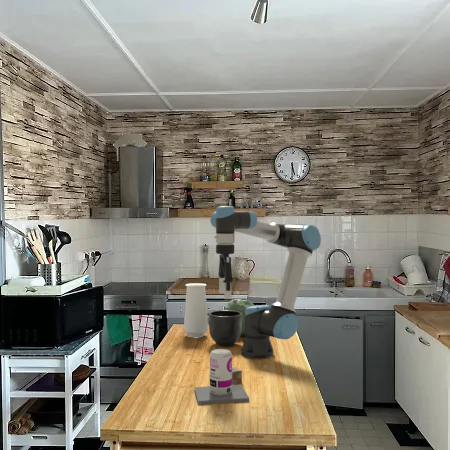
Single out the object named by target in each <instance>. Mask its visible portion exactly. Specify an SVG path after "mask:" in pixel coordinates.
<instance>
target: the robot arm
mask: <svg viewBox="0 0 450 450" xmlns="http://www.w3.org/2000/svg"><path fill="white" fill-rule="evenodd" d="M210 223H211V226H212V227H213V228H215V235H214V239H215V243H216V245H215V253H216V254H217V255H219V263H218V264H219V265H218V284H219V285H218V286H219V287H218V290H219V291H218V293H219V295H220V294H224V297H223V298H224V300H232V282H233V281H234V280H233V271H232V269H233V268H232V258H231V256H230V255H232V254H234V253H235V239H236V238H235V237H236V236H235V234H236V233H239V234H245V235H247V236H252V237H255V238H259V239H262V240H265V241H266V242H267V243H269V244H274V245H276V246H280V247H282V248H287V251H288V258H287V262H286V263H285V264H286V265H285V268H284V272H283V275H282V278H281V282H280V285H279V289H278V292H277V295H276V296H277V297H276V301H275V302H274V303H272V304H271V305H269V304H261V305H260V304H259V305H258V304H256V305H254V306H250V307H247V308H246V310H245V335H244V341H243V344H242V346H241V356H242V357H245V358H247V359H253V360H258V359H259V360H263V359H269V358H272V357H273V356H274V351H275V350H274V347H273V344H272V340H271V337H272V338H276V339H279V340H289V339H291V338H293V337H294V335H295V334H296V333H297V331H298V328H299V319H298V317H297V315H296V313H297V311H296V309H295V305H296V301H297V297H298V295H299V290H300V287H301V283H302V280H303V276H304V273H305V269H306V265H307V261H308V259H309V258H311V256H312V255H313V253H314V252H313V251H316V250H317V249H319V248H320V246H321V242H322V237H321V233H320V230H319V229H318V228H317V227H316V226H315V225H314V224H307V223H304V224H301V223H300V224H299V223H298V224H297V223H296V224H295V223H291V224H290V223H287V224H286V223H284V224H282V223H275V222H272V223H268V222H265V221H260V220H258V216H257V214H256V213H255V212H254V211H251V210H238V211H237V210H235V206H233V205H232V206H228V205H220V206H217V207H216V209H215V211H214V212H213V213H212V214H211V216H210ZM235 232H236V233H235Z"/></svg>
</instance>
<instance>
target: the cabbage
mask: <svg viewBox="0 0 450 450" xmlns="http://www.w3.org/2000/svg"><path fill="white" fill-rule="evenodd" d="M250 306H255V304H254V303H253V302H252V300H250V299H247V298H246V299H242V298H234V299H230V301H229V302H228V303H227V305H226V306H225V307H224V310H232V311H238V312H241V313H242V314H243V322H242V332H241V336H245V310H246V308H247V307H250Z"/></svg>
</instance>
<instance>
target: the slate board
mask: <svg viewBox="0 0 450 450" xmlns="http://www.w3.org/2000/svg"><path fill="white" fill-rule="evenodd" d="M194 393H195V396H196V400H197V404H198V405H210V404H211V405H212V404H223V403H224V404H227V403H228V404H229V403H243V402H245V403H247V402H250V397H249V395H248V393H247V391H246V389H244V387H243V385H242V384H234V385H232V392H231V393H230V394H228V395H224V396H218V395H214V394H212V393H211V392H210V385H209V386H194Z"/></svg>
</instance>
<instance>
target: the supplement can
mask: <svg viewBox="0 0 450 450" xmlns="http://www.w3.org/2000/svg"><path fill="white" fill-rule="evenodd" d="M232 368H233V354H232V352H231V350H230V349H227V348H216V349H215V348H214V349H212V350H211V352H210V354H209V386H210V392H211V393H212V394H214V395H218V396H224V395H228V394H230V393H231V392H232Z"/></svg>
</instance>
